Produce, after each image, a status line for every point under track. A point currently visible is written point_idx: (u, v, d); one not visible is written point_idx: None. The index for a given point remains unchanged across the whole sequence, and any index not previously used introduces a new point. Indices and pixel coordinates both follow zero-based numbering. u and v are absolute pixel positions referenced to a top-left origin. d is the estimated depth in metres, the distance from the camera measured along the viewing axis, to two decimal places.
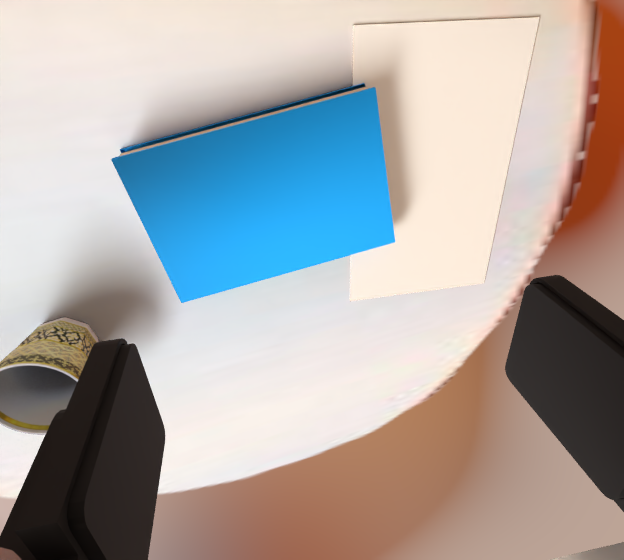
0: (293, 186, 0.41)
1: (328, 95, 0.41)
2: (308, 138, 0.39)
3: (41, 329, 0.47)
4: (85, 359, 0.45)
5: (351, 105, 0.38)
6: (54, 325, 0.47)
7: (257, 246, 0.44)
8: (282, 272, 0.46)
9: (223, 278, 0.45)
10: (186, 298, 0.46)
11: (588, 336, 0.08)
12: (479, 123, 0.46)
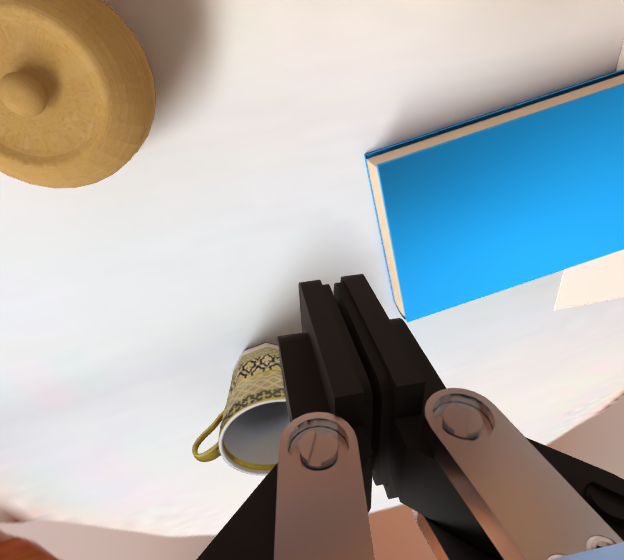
0: (554, 187, 0.37)
1: (589, 83, 0.37)
2: (584, 131, 0.35)
3: (251, 357, 0.42)
4: None
5: None
6: (265, 352, 0.42)
7: (500, 256, 0.40)
8: (517, 283, 0.42)
9: (456, 293, 0.41)
10: (413, 317, 0.41)
11: (355, 331, 0.09)
12: None
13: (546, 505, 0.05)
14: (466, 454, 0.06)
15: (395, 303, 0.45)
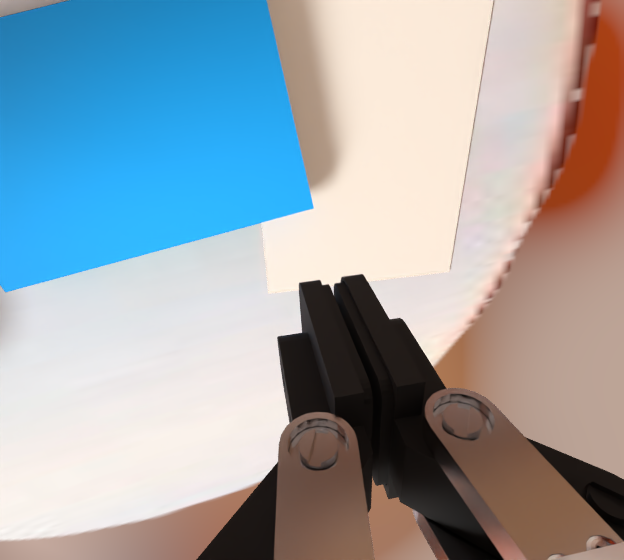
0: (146, 117, 0.28)
1: None
2: (158, 37, 0.26)
3: None
4: None
5: None
6: None
7: (106, 210, 0.30)
8: (151, 249, 0.32)
9: (62, 257, 0.32)
10: (11, 285, 0.32)
11: (355, 331, 0.09)
12: (432, 39, 0.32)
13: (546, 505, 0.05)
14: (466, 454, 0.06)
15: None
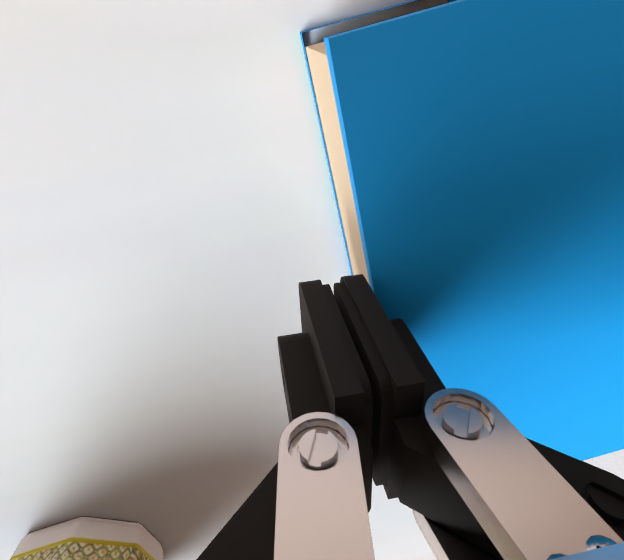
0: None
1: None
2: None
3: None
4: None
5: None
6: None
7: None
8: None
9: None
10: None
11: (354, 331, 0.09)
12: None
13: (545, 505, 0.05)
14: (466, 454, 0.06)
15: None
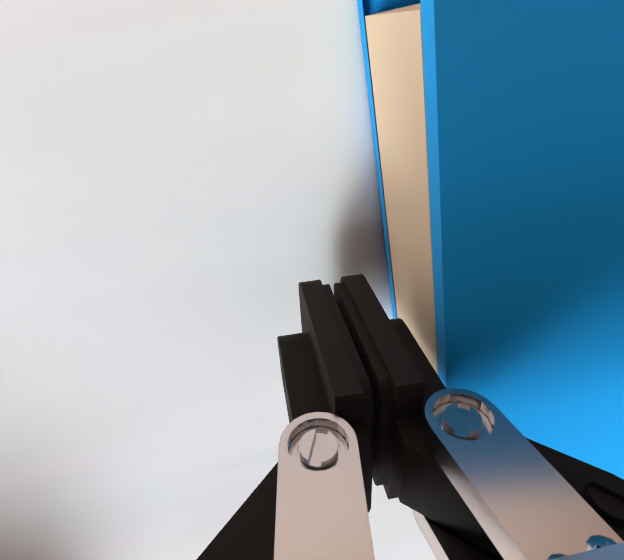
0: None
1: None
2: None
3: None
4: None
5: None
6: None
7: None
8: None
9: None
10: None
11: (354, 331, 0.09)
12: None
13: (545, 505, 0.05)
14: (466, 454, 0.06)
15: None
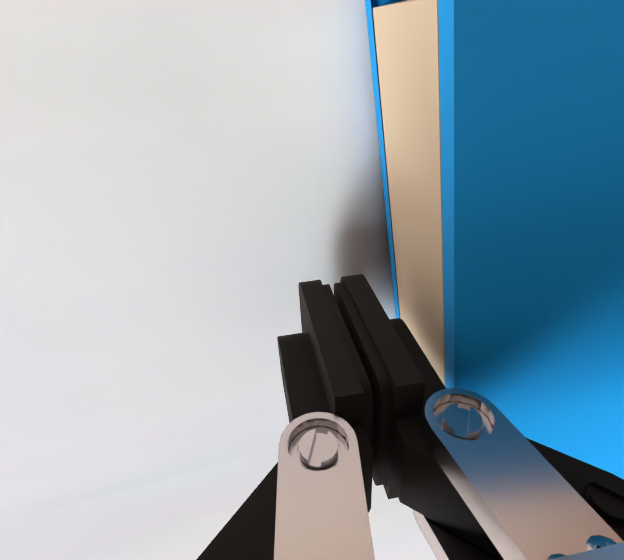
0: None
1: None
2: None
3: None
4: None
5: None
6: None
7: None
8: None
9: None
10: None
11: (355, 331, 0.09)
12: None
13: (545, 505, 0.05)
14: (466, 454, 0.06)
15: None
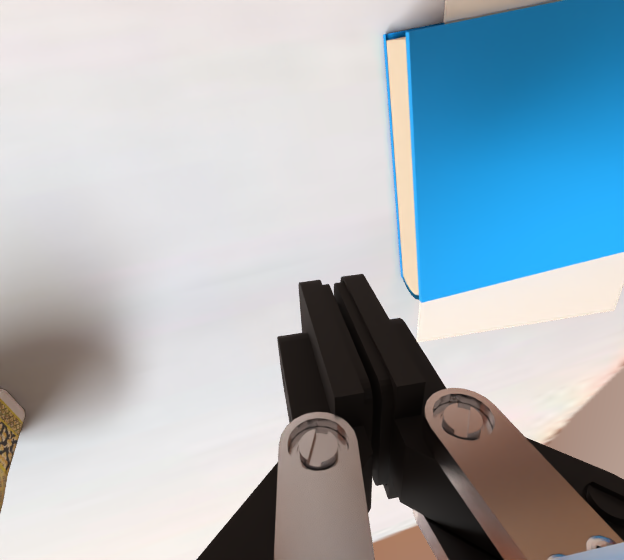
0: None
1: None
2: None
3: None
4: None
5: None
6: None
7: (562, 215, 0.27)
8: (578, 260, 0.29)
9: (495, 265, 0.28)
10: (431, 295, 0.29)
11: (354, 331, 0.09)
12: None
13: (545, 505, 0.05)
14: (466, 454, 0.06)
15: (403, 279, 0.32)
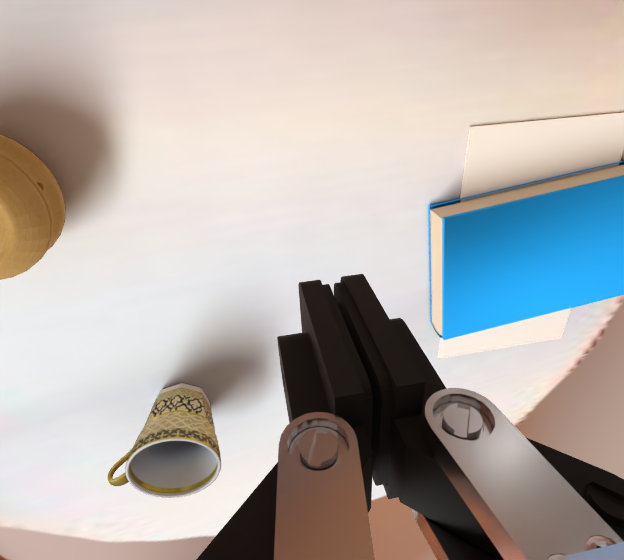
0: (571, 244, 0.47)
1: None
2: (599, 206, 0.45)
3: (165, 397, 0.50)
4: (211, 427, 0.48)
5: None
6: (177, 393, 0.50)
7: (523, 294, 0.50)
8: (532, 316, 0.52)
9: (485, 320, 0.51)
10: (449, 336, 0.51)
11: (355, 331, 0.09)
12: None
13: (545, 505, 0.05)
14: (466, 454, 0.06)
15: None
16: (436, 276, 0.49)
